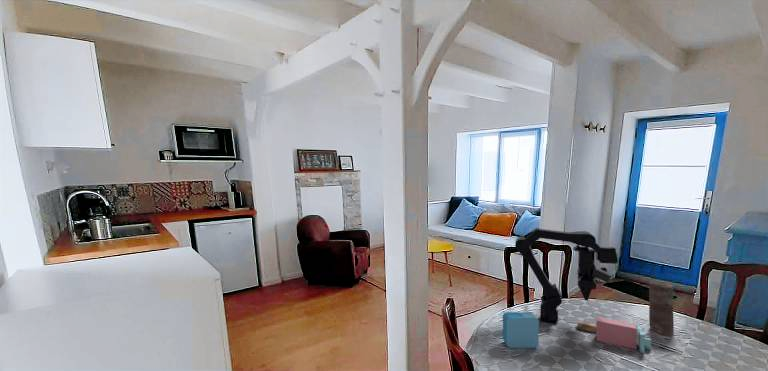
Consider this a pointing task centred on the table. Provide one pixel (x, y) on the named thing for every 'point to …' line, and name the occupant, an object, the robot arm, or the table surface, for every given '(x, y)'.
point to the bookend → (642, 340)
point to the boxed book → (616, 332)
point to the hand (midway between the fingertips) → (586, 297)
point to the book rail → (587, 326)
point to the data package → (520, 330)
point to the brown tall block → (661, 308)
